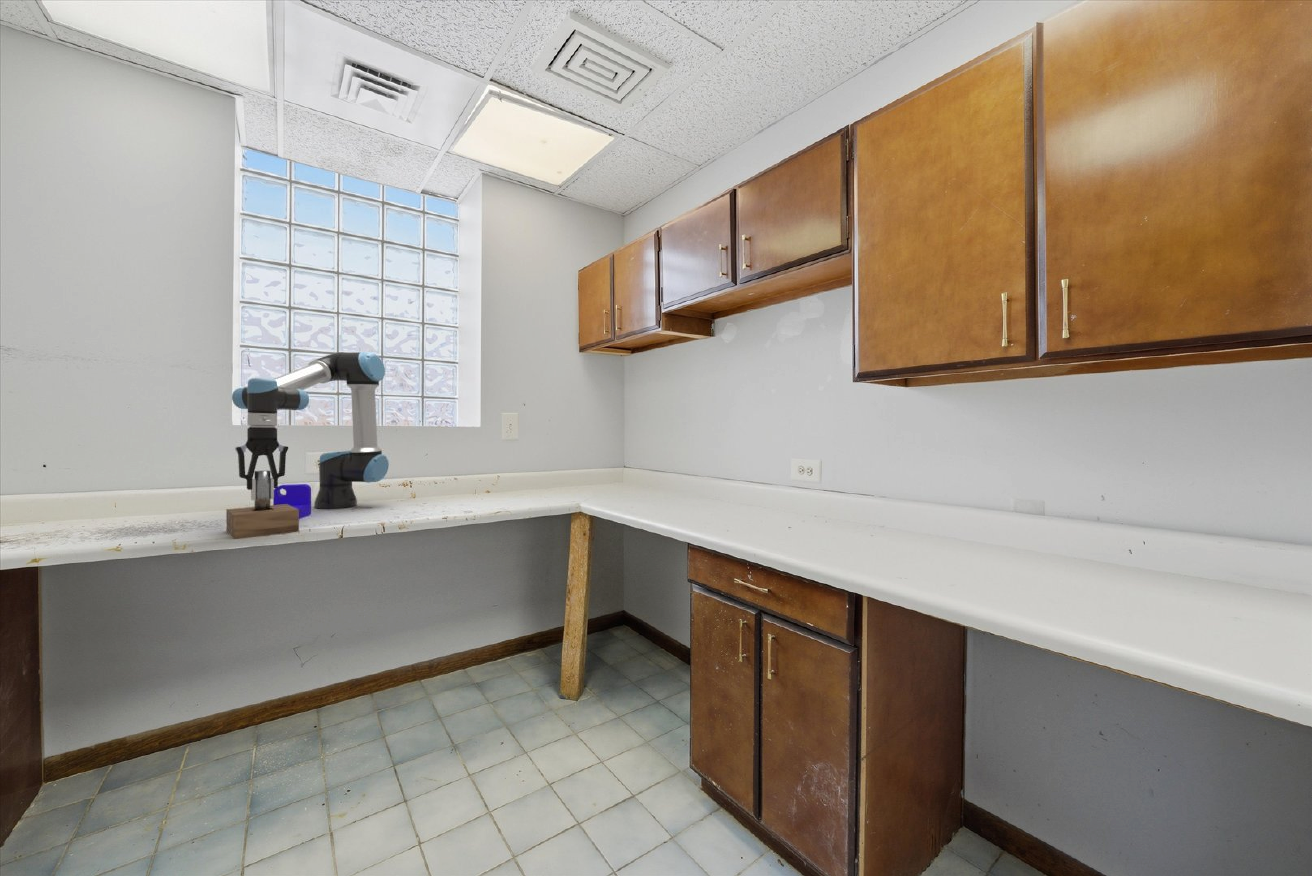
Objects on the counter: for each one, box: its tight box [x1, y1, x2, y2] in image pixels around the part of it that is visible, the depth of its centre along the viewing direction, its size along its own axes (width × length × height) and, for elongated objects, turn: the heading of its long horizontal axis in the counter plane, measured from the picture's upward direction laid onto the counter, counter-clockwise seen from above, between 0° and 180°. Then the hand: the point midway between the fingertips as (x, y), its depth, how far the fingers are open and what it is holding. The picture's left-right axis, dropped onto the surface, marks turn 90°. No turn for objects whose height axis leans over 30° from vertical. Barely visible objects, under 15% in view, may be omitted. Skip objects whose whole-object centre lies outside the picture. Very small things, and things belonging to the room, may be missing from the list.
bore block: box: [225, 504, 300, 540], centre depth 159 cm, size 16×16×7 cm
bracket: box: [272, 483, 312, 520], centre depth 181 cm, size 18×11×12 cm, turn 26°
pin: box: [254, 470, 271, 511], centre depth 159 cm, size 4×4×14 cm
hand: (262, 499), depth 159 cm, fingers closed on pin, 4 cm apart
